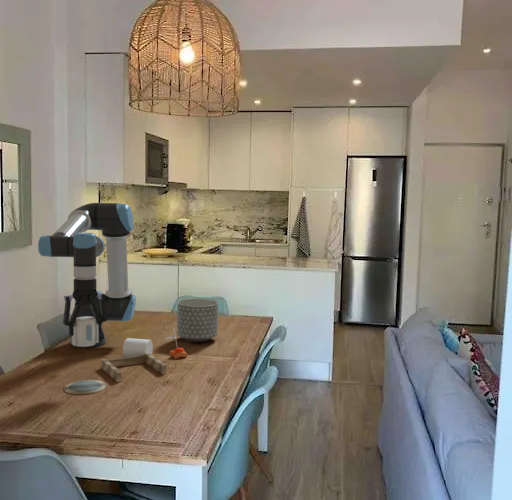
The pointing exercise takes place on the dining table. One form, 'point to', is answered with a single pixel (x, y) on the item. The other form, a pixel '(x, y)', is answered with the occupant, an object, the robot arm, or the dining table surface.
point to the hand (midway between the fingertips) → (85, 343)
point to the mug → (137, 347)
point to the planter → (197, 319)
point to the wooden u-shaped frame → (111, 364)
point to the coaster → (84, 387)
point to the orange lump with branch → (177, 350)
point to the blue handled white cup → (85, 331)
